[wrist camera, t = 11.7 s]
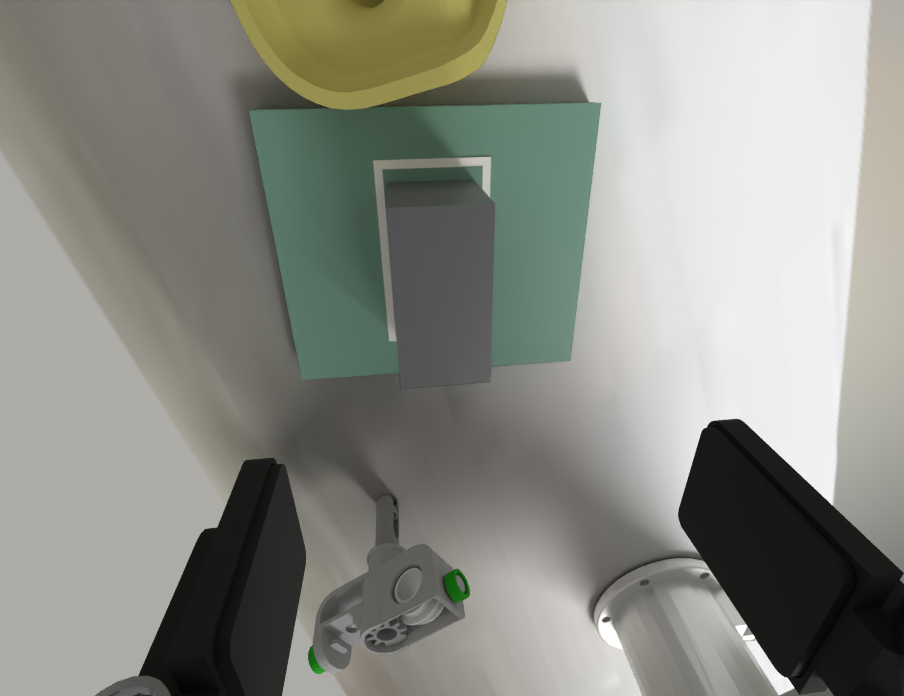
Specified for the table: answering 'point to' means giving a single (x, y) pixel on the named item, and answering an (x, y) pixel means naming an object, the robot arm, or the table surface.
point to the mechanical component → (387, 599)
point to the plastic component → (370, 45)
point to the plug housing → (441, 280)
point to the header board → (366, 232)
